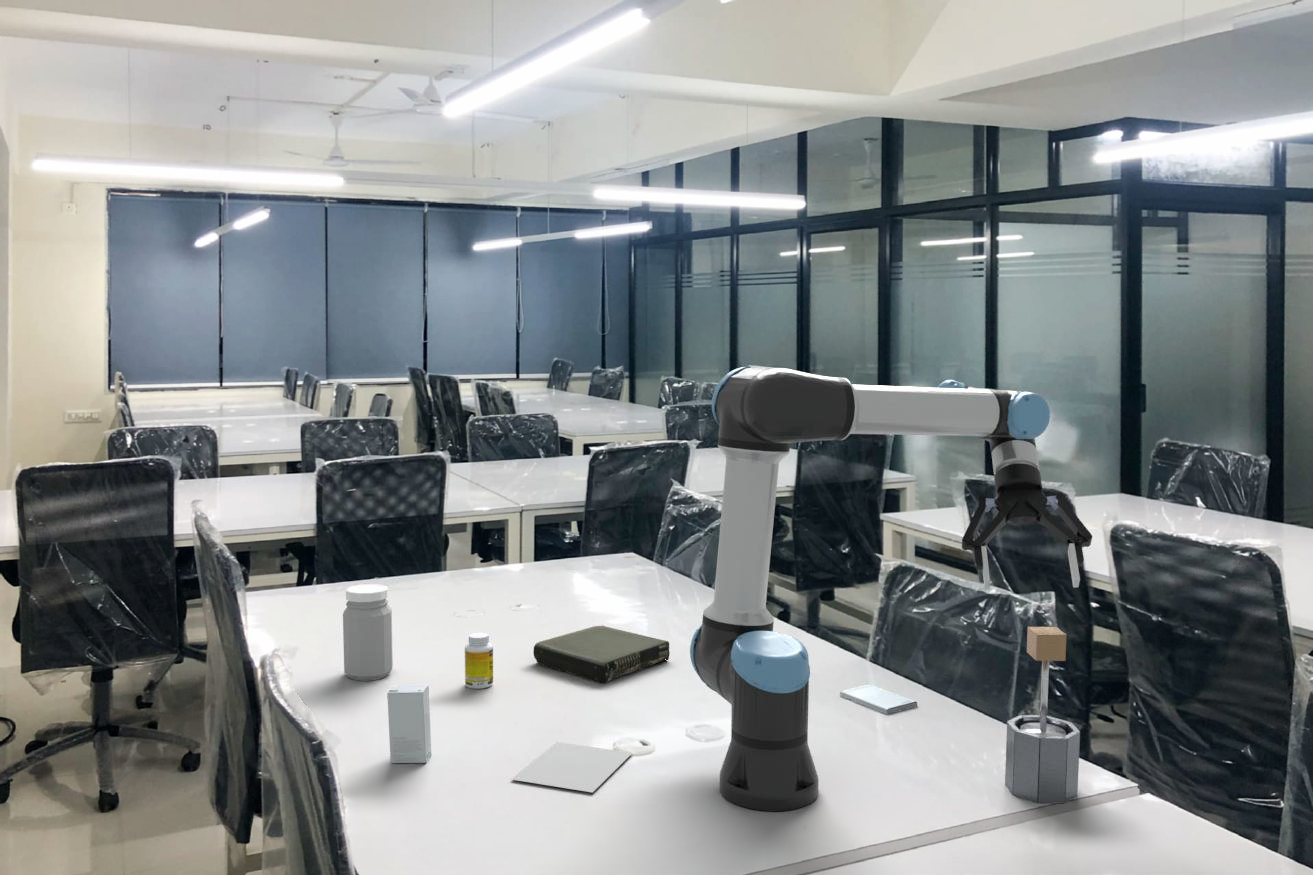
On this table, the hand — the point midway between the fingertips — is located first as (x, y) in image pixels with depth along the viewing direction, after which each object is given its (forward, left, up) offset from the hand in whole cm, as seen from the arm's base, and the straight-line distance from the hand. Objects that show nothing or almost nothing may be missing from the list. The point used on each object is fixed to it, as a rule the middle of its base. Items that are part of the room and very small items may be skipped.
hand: (1031, 584), depth 172 cm
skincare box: (-100, -1, -30) cm, 105 cm away
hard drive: (-18, +31, -31) cm, 48 cm away
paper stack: (-76, +2, -31) cm, 82 cm away
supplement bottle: (-96, +37, -30) cm, 108 cm away
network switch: (-73, +53, -31) cm, 96 cm away
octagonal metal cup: (0, -9, -30) cm, 31 cm away
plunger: (0, -9, -21) cm, 23 cm away
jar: (-120, +43, -30) cm, 131 cm away
